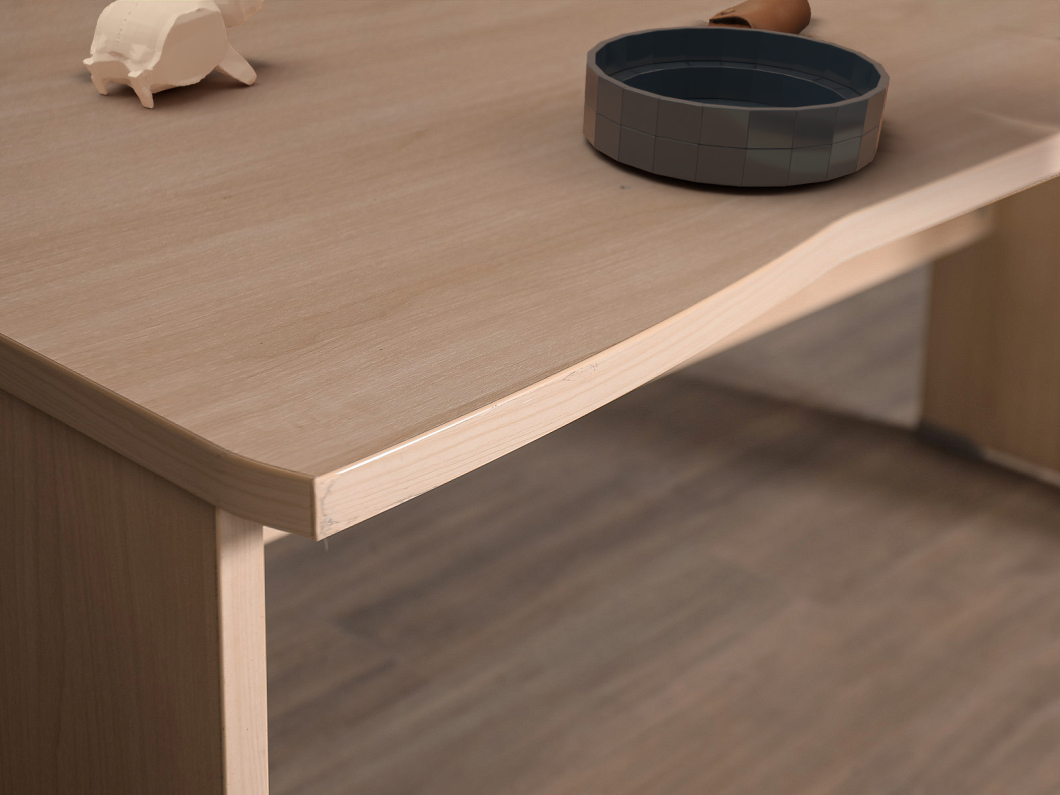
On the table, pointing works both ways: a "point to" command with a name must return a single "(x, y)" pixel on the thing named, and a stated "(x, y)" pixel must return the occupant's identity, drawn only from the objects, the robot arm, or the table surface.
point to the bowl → (734, 105)
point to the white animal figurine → (167, 44)
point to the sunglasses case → (766, 16)
